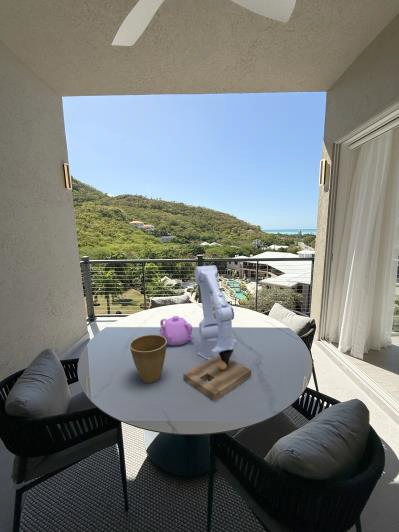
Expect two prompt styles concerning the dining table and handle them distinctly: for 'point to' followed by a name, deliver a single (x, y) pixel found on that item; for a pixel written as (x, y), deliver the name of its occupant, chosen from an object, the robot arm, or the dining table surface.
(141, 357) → the plant pot
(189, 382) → the brown wooden flat block
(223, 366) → the ball
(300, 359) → the dining table surface
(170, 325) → the teapot
